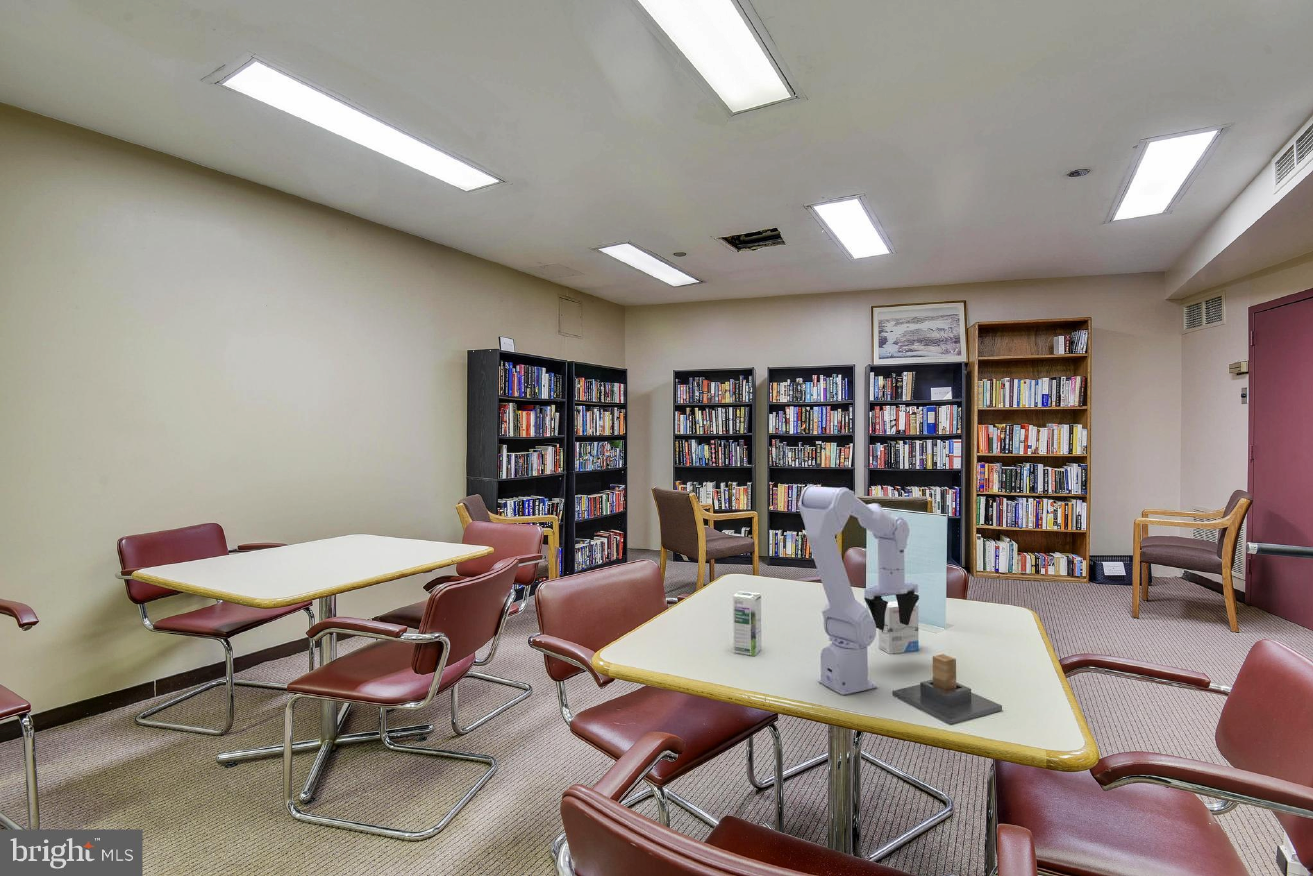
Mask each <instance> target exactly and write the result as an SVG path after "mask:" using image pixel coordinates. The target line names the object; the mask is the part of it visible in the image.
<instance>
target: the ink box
mask: <svg viewBox="0 0 1313 876" xmlns="http://www.w3.org/2000/svg"><path fill="white" fill-rule="evenodd" d="M878 648H879V649H880V650H881V651H884V652H885V653H887V654H889V655H894V654H893V653H895V654H900V653H910V652H909V651H911V652H917V651H919V649H920V648H919V604H917V603H916V604H915V606H914V609H913V611H912V614H911V618H910V622H909V625H904V624H901V623H900V620H899V608H898V603H897V600H895V601H894V600H893V601H888V605H887V608H886V612H885V626H884V629H883V630H881V629H878Z"/></svg>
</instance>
